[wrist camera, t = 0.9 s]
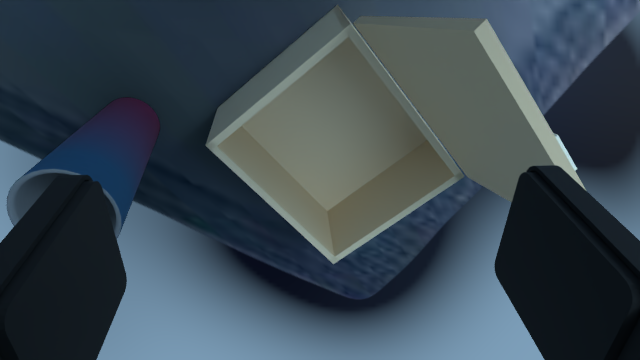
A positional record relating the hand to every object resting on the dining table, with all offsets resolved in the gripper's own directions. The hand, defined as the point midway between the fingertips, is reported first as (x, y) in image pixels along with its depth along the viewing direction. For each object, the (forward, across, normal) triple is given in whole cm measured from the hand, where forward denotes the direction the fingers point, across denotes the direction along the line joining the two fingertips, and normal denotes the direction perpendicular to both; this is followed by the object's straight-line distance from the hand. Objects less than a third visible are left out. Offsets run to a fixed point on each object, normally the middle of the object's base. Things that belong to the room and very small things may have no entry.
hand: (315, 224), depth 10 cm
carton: (+31, -3, +11) cm, 33 cm away
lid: (+16, -11, +5) cm, 20 cm away
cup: (+31, +15, +11) cm, 36 cm away
